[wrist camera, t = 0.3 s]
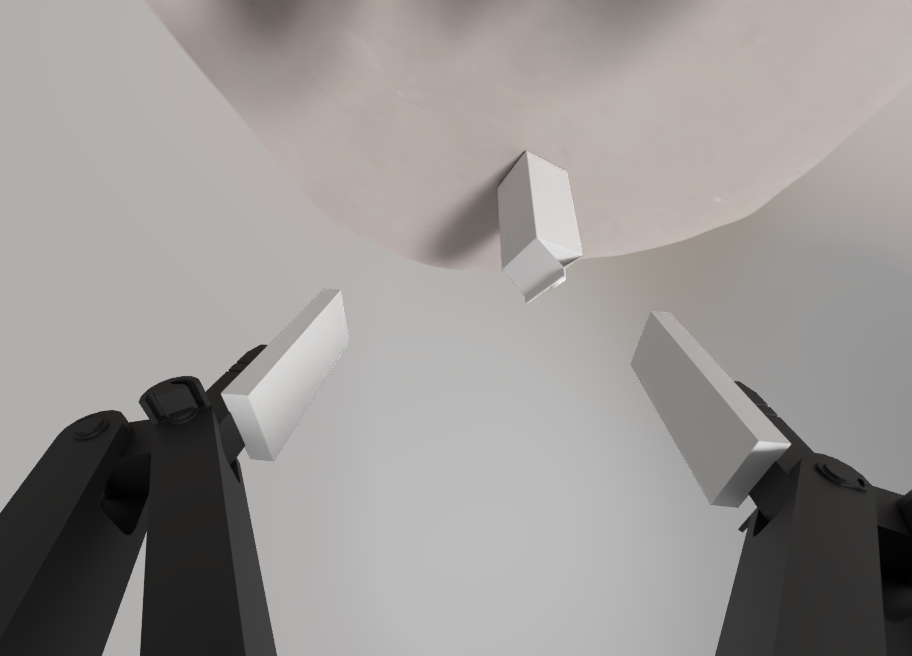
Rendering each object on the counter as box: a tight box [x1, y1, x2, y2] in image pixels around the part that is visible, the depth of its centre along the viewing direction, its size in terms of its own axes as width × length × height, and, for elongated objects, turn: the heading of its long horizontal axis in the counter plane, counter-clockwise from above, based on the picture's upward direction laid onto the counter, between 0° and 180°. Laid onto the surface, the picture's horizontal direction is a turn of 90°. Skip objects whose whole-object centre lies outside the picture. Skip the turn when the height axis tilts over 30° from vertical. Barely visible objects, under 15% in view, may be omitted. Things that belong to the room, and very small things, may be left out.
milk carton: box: [497, 151, 583, 303], centre depth 45 cm, size 7×7×19 cm
